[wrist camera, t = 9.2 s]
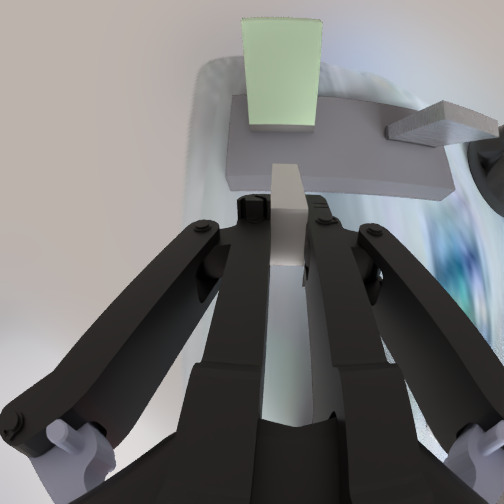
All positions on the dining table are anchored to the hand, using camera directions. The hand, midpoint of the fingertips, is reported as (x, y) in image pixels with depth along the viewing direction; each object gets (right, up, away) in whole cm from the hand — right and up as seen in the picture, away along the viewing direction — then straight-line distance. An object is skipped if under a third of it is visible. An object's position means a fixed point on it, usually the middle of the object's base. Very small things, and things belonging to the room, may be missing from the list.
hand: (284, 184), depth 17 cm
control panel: (+10, +9, +16) cm, 21 cm away
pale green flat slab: (+1, +10, +12) cm, 15 cm away
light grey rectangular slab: (+17, +10, +10) cm, 22 cm away
